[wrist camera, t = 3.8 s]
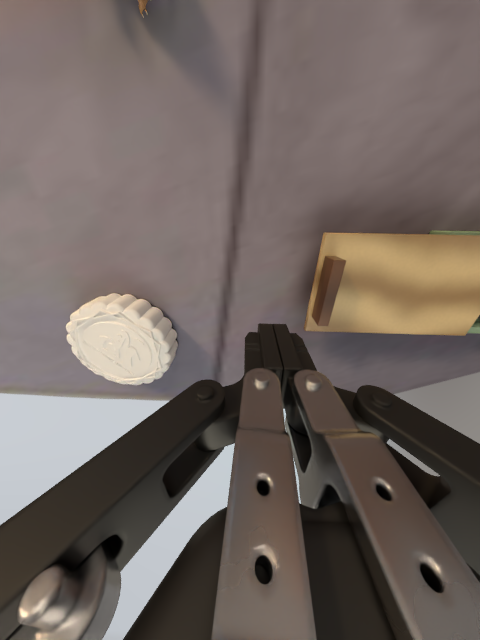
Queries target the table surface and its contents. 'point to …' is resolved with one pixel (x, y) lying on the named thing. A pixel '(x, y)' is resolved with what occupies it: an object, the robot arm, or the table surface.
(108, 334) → the mooncake
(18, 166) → the table surface
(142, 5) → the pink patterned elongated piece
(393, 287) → the slide lid
